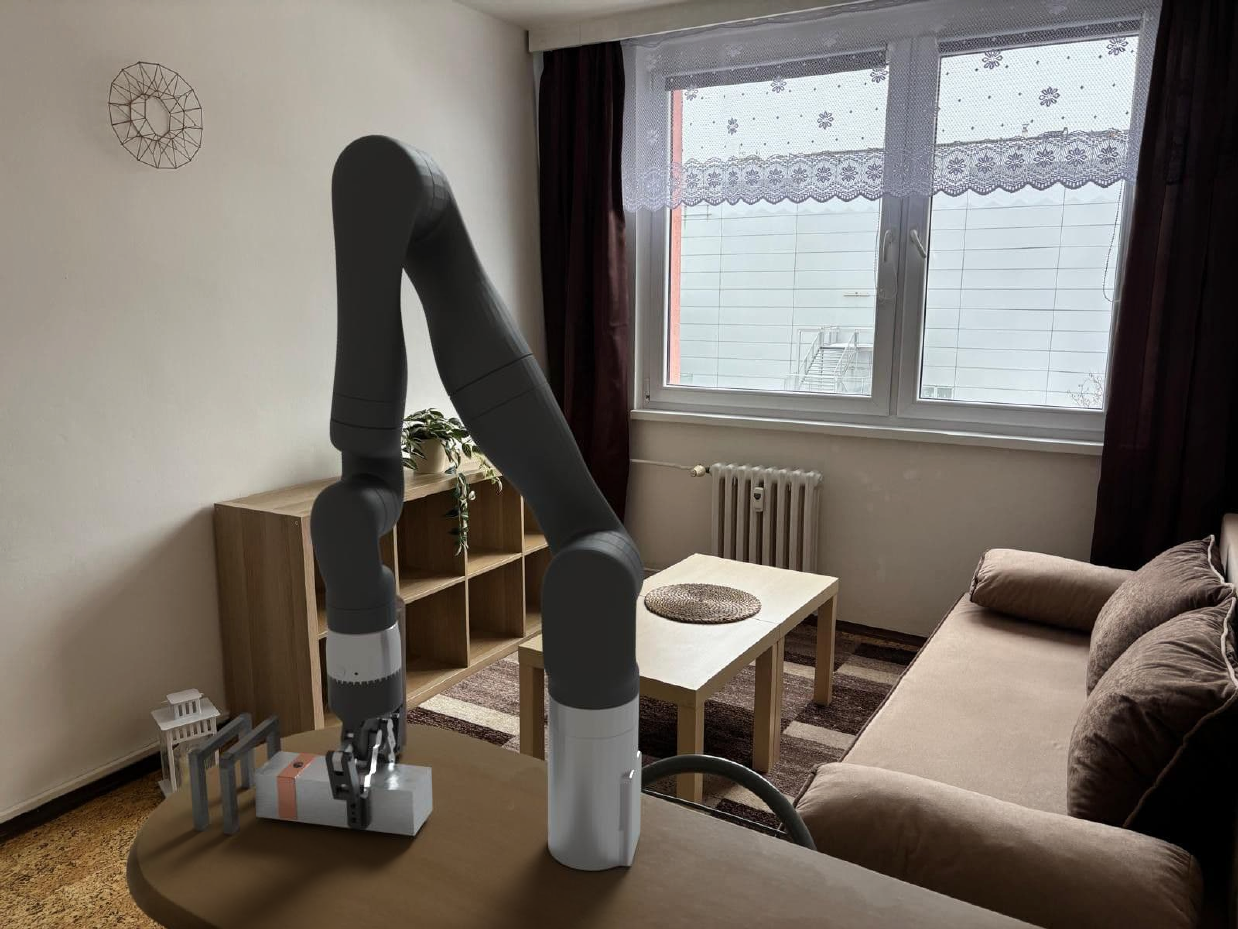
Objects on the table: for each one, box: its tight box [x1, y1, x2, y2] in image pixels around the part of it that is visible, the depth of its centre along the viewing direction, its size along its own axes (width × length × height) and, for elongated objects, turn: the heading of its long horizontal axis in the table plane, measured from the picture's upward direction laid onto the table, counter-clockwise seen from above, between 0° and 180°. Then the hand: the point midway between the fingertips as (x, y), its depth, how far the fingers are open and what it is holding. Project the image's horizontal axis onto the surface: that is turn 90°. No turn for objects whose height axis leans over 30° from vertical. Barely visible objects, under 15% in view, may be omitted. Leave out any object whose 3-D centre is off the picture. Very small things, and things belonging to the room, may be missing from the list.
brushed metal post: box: [253, 750, 434, 837], centre depth 98 cm, size 18×5×5 cm, turn 79°
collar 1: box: [187, 712, 256, 832], centre depth 101 cm, size 1×10×9 cm, turn 169°
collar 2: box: [218, 715, 282, 836], centre depth 100 cm, size 1×10×9 cm, turn 169°
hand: (370, 812), depth 98 cm, fingers closed on brushed metal post, 5 cm apart
